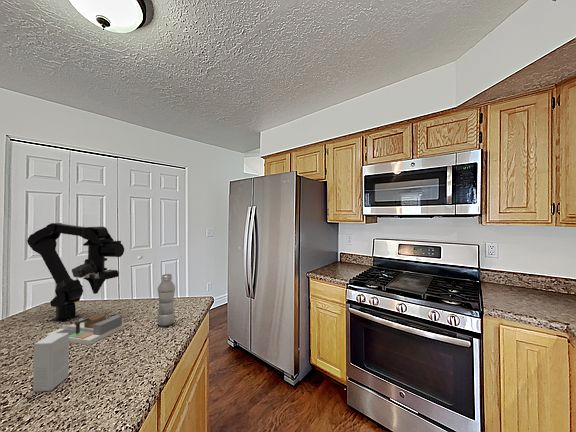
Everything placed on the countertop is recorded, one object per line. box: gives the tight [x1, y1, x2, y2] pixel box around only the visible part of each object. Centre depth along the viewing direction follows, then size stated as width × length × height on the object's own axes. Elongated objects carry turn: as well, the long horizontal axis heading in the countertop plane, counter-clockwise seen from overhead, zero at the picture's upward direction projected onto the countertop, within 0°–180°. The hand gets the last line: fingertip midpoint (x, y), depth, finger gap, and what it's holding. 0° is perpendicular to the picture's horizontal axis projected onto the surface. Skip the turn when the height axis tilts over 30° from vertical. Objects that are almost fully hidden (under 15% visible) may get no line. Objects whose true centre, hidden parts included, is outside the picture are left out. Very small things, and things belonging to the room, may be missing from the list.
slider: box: [73, 313, 107, 334], centre depth 96 cm, size 4×10×4 cm, turn 167°
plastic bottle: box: [156, 273, 176, 327], centre depth 106 cm, size 6×7×20 cm
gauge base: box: [45, 315, 125, 346], centre depth 97 cm, size 19×14×5 cm
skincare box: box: [32, 333, 70, 393], centre depth 67 cm, size 6×4×12 cm
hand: (95, 293), depth 110 cm, fingers closed
